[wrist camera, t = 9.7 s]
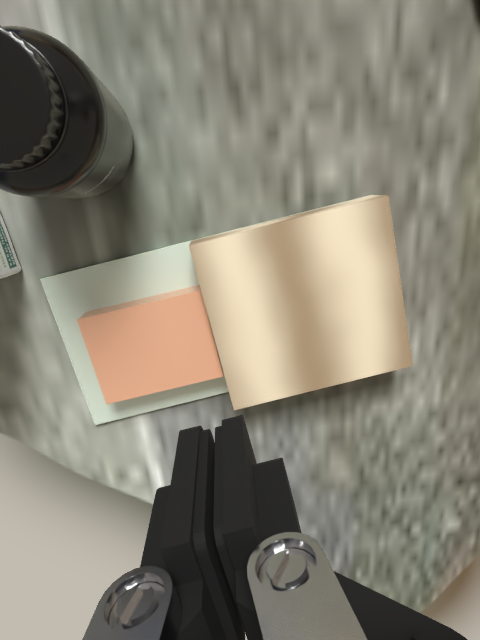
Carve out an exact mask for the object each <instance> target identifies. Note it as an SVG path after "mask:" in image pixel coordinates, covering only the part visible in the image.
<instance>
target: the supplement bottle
mask: <svg viewBox="0 0 480 640" xmlns="http://www.w3.org/2000/svg"><path fill="white" fill-rule="evenodd" d="M132 151H133V137H132V131H131V127H130V123H129V121H128V118H127V116H126V114H125V112H124V110H123V108H122V107H121V105H120V104H119V102H118V101H117V100H116V99H115V97H114V96H113V95H112V94H111V93H110V92H109V90H108V89H107V88H106V87H105V86H104V85H103V84H102V82H101V81H100V80H99V79H98V78H97V77H96V76H95V75H94V73H93V72H92V71H91V70H90V69H89V68H88V67H87V65H86V64H85V63H84V62H83V61H82V60H81V59H80V58H79V57H78V56H77V55H76V54H75V53H74V52H73V51H72V50H70V49H69V48H68V47H67V46H66V45H64V44H63V43H61V42H60V41H58V40H57V39H55V38H53V37H52V36H50V35H47V34H45V33H43V32H40V31H37V30H34V29H30V28H26V27H18V26H4V27H2V26H0V189H2V190H4V191H7V192H10V193H13V194H17V195H22V196H29V197H49V198H88V197H93V196H97V195H100V194H102V193H104V192H106V191H108V190H110V189H111V188H112V187H114V186H115V185H116V184H117V183H118V182H119V181H120V180H121V178H122V177H123V176H124V174H125V172H126V171H127V169H128V166H129V164H130V161H131V157H132Z"/></svg>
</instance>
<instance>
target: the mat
mask: <svg viewBox="0 0 480 640" xmlns="http://www.w3.org/2000/svg"><path fill="white" fill-rule="evenodd" d="M369 196H371V195H369ZM365 197H367V196H365ZM361 198H363V197H361ZM357 199H359V198H357ZM353 200H355V199H353ZM349 201H351V200H349ZM345 202H347V201H345ZM341 203H343V202H341ZM337 204H339V203H337ZM333 205H335V204H333ZM330 206H331V205H330ZM326 207H327V206H326ZM322 208H323V207H322ZM318 209H319V208H318ZM314 210H315V209H314ZM310 211H311V210H310ZM306 212H307V211H306ZM302 213H303V212H302ZM298 214H299V213H298ZM294 215H295V214H294ZM290 216H292V215H290ZM286 217H288V216H286ZM282 218H284V217H282ZM278 219H280V218H278ZM274 220H276V219H274ZM270 221H272V220H270ZM266 222H268V221H266ZM262 223H264V222H262ZM258 224H260V223H258ZM254 225H256V224H254ZM251 226H252V225H251ZM247 227H248V226H247ZM243 228H244V227H243ZM239 229H240V228H239ZM235 230H236V229H235ZM231 231H232V230H231ZM227 232H228V231H227ZM223 233H224V232H223ZM219 234H220V233H219ZM215 235H216V234H215ZM211 236H213V235H211ZM207 237H209V236H207ZM203 238H205V237H203ZM199 239H201V238H199ZM195 240H197V239H195ZM191 241H193V240H191ZM191 241H187V242H183V243H179V244H175V245H171V246H168V247H164V248H160V249H156V250H152V251H148V252H144V253H140V254H136V255H132V256H128V257H124V258H120V259H116V260H112V261H108V262H104V263H100V264H96V265H92V266H89V267H85V268H81V269H77V270H73V271H69V272H65V273H61V274H57V275H53V276H49V277H45V278H41V279H40V281H41V283H42V286H43V289H44V291H45V294H46V297H47V299H48V302H49V305H50V307H51V310H52V313H53V315H54V318H55V320H56V323H57V326H58V328H59V331H60V334H61V336H62V339H63V342H64V344H65V347H66V350H67V352H68V355H69V358H70V360H71V363H72V365H73V368H74V371H75V373H76V376H77V379H78V381H79V384H80V387H81V389H82V392H83V395H84V397H85V400H86V403H87V405H88V408H89V410H90V413H91V416H92V418H93V421H94V424H95V425H98V424H102V423H106V422H110V421H114V420H118V419H122V418H126V417H130V416H134V415H138V414H142V413H146V412H150V411H154V410H158V409H162V408H166V407H170V406H174V405H178V404H182V403H186V402H190V401H194V400H198V399H202V398H206V397H210V396H214V395H218V394H222V393H226V392H229V390H228V387H227V383H226V379H225V376H224V377H220V378H215V379H211V380H207V381H203V382H199V383H194V384H190V385H186V386H182V387H178V388H173V389H169V390H165V391H161V392H157V393H152V394H148V395H144V396H140V397H136V398H131V399H127V400H123V401H119V402H115V403H110V404H106V402H105V399H104V396H103V393H102V390H101V387H100V385H99V382H98V379H97V376H96V373H95V370H94V367H93V365H92V362H91V359H90V356H89V353H88V350H87V347H86V345H85V342H84V339H83V336H82V333H81V330H80V327H79V325H78V322H77V319H79V318H80V317H81V316H82V315H83V314H84V313H85V312H88V311H92V310H96V309H100V308H104V307H108V306H113V305H117V304H121V303H125V302H129V301H133V300H138V299H142V298H146V297H150V296H154V295H159V294H163V293H167V292H171V291H175V290H179V289H184V288H188V287H192V286H196V285H199V281H198V277H197V274H196V270H195V266H194V263H193V259H192V255H191V252H190V248H189V244H190V242H191ZM223 374H224V372H223Z"/></svg>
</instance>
